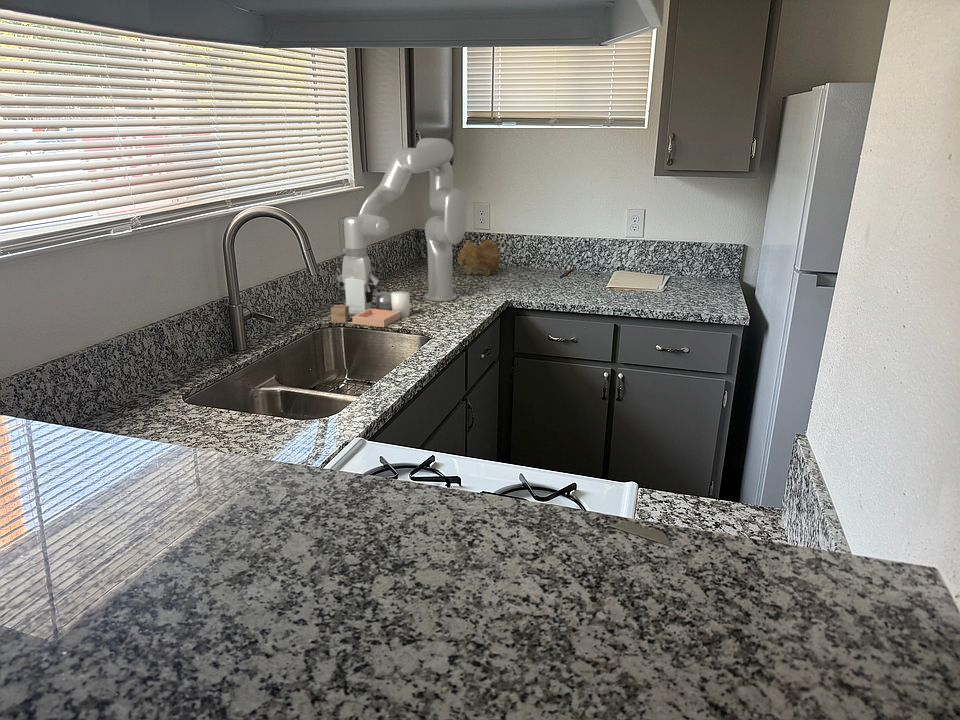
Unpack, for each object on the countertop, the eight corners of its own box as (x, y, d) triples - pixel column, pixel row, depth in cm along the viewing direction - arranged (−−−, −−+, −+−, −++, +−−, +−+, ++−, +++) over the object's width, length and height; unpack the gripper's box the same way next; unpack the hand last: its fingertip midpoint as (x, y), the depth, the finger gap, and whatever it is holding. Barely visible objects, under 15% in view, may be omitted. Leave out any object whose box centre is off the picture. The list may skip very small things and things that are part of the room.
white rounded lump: (397, 312, 252) (396, 290, 250) (412, 313, 250) (412, 291, 248) (388, 316, 247) (387, 294, 244) (405, 318, 244) (404, 295, 242)
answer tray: (370, 315, 248) (369, 308, 247) (400, 318, 244) (400, 311, 243) (352, 323, 237) (352, 316, 236) (384, 327, 233) (383, 320, 232)
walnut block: (335, 318, 243) (334, 304, 242) (349, 319, 243) (348, 305, 241) (331, 322, 239) (330, 308, 237) (345, 323, 238) (344, 308, 237)
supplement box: (365, 314, 248) (363, 280, 244) (345, 313, 250) (343, 279, 245) (372, 309, 255) (371, 275, 251) (353, 308, 256) (351, 274, 252)
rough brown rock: (480, 282, 305) (483, 248, 300) (452, 273, 314) (454, 240, 309) (512, 275, 322) (515, 243, 317) (484, 267, 332) (487, 236, 327)
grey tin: (381, 307, 259) (380, 291, 257) (395, 308, 257) (395, 292, 255) (373, 310, 254) (372, 294, 252) (387, 312, 252) (387, 296, 250)
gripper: (329, 252, 245) (332, 301, 250) (373, 256, 239) (375, 305, 245) (340, 249, 252) (343, 296, 257) (383, 252, 246) (385, 300, 251)
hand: (358, 300), depth 251 cm, fingers closed on supplement box, 8 cm apart
